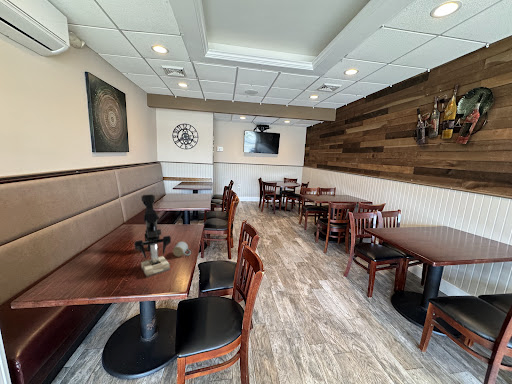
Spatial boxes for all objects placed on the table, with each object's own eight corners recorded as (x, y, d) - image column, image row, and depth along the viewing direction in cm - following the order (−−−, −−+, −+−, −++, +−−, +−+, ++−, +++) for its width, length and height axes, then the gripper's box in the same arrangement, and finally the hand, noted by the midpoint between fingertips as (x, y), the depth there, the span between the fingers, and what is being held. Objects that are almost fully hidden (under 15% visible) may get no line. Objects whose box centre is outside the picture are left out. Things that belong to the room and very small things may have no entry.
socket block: (141, 268, 121) (140, 261, 120) (163, 261, 128) (162, 255, 128) (146, 277, 112) (146, 270, 111) (169, 269, 119) (169, 263, 119)
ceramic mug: (172, 257, 134) (171, 246, 133) (177, 251, 142) (176, 241, 141) (188, 257, 134) (188, 246, 133) (192, 252, 142) (192, 241, 141)
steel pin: (150, 268, 119) (148, 245, 117) (155, 265, 122) (154, 242, 120) (154, 269, 118) (153, 246, 115) (160, 266, 121) (158, 243, 118)
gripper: (133, 227, 115) (134, 254, 107) (169, 222, 124) (173, 247, 116) (134, 236, 123) (136, 262, 115) (168, 231, 132) (172, 254, 124)
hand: (154, 256), depth 117 cm, fingers open, 9 cm apart
